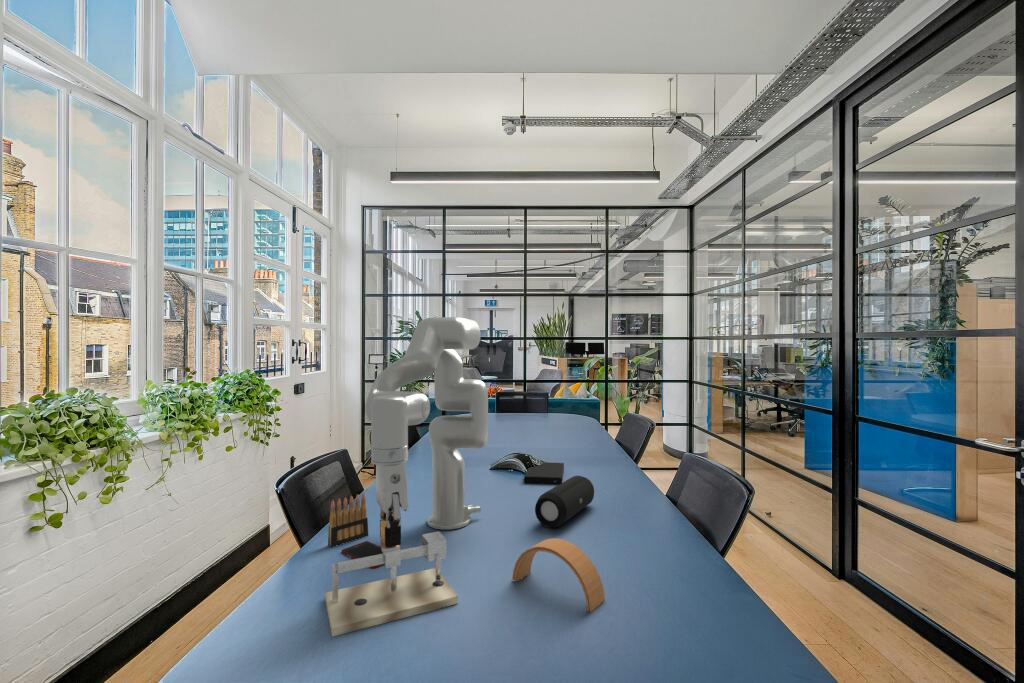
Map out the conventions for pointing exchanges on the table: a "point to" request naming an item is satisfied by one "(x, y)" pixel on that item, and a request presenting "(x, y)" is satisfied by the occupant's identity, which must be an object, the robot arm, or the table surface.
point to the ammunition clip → (348, 521)
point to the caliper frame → (430, 549)
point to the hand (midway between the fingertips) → (390, 540)
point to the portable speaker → (564, 501)
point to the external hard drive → (545, 474)
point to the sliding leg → (390, 556)
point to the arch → (573, 559)
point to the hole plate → (387, 601)
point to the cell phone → (363, 551)
